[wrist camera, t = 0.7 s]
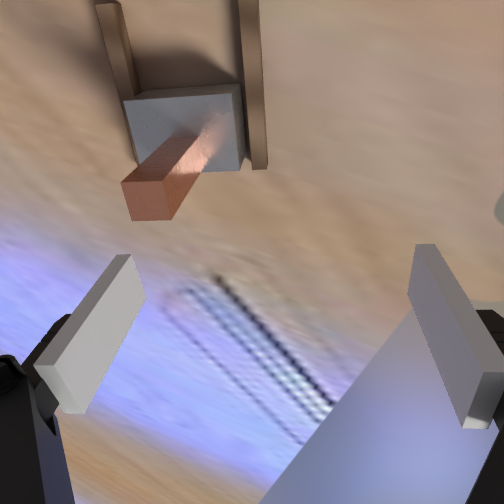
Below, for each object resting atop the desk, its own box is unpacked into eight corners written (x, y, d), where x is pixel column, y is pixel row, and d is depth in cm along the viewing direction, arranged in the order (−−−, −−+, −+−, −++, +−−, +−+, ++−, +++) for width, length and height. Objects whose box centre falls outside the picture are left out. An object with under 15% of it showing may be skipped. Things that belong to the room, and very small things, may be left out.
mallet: (146, 90, 37) (54, 133, 23) (240, 83, 36) (204, 124, 22) (161, 155, 41) (89, 227, 27) (246, 151, 39) (219, 225, 25)
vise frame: (53, -196, 27) (-42, -281, 19) (244, -233, 25) (222, -343, 17) (146, 168, 42) (113, 200, 35) (267, 163, 40) (261, 195, 33)
